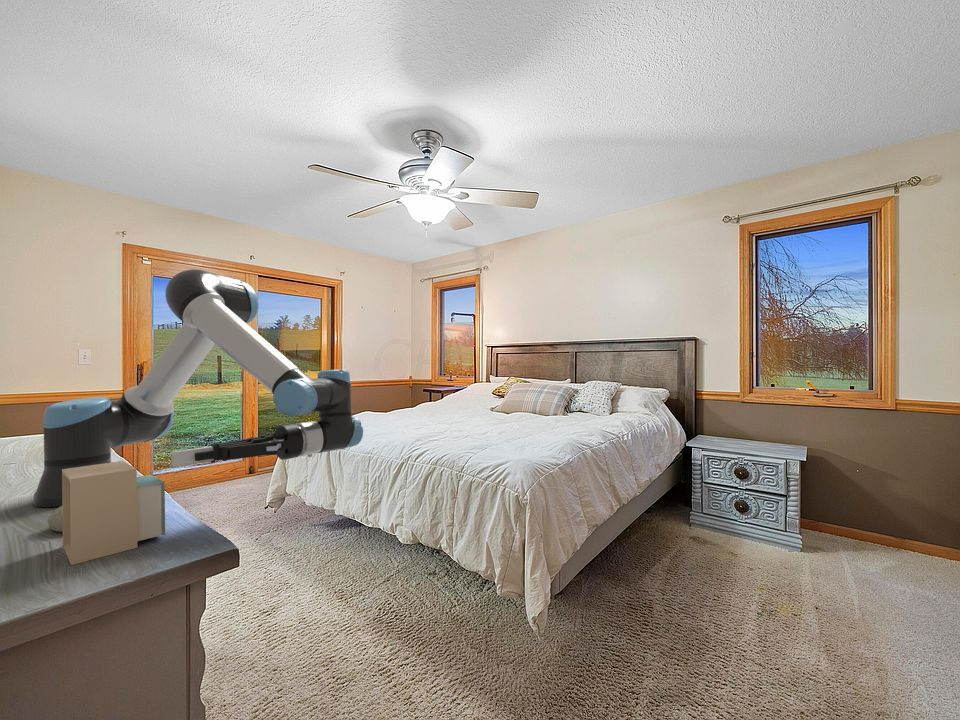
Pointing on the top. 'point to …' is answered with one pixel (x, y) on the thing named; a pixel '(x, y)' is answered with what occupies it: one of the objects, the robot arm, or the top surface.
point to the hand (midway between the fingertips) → (172, 459)
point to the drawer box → (150, 507)
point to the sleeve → (99, 510)
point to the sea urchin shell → (56, 520)
